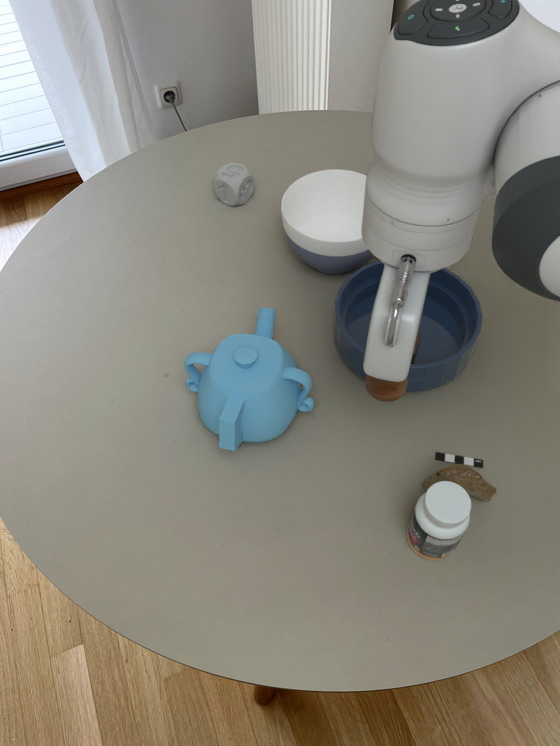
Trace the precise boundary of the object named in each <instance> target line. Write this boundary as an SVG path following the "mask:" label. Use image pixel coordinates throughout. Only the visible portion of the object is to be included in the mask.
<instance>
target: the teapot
mask: <svg viewBox="0 0 560 746" xmlns="http://www.w3.org/2000/svg"><path fill="white" fill-rule="evenodd" d="M276 314H277V310H276V309H272V308H269V307H259V308H258V313H257V317H256V323H255V328H254V332H253V333H254V334H253V333H252V334H251V333H234V334H231V335H228V336H226V337H225V338H224V339H223V340H222V341H221V342H219V344H218V345H217V347H216V348H215V349H214V351H213V352H212V353H209V352H206V351H205V352H204V351H194V352H191V353H189V354H188V355H187V356H186V358H185V360H184V363H183V364H184V365H183V366H184V370H185V372H186V374H187V376H188V377H187V378H186V380H185V387H186V388H187V389H188V390H189V391H191V392H194V393H197V409H198V413H199V418H200V420H201V422H202V423H203V425H204V426H205V427H206V428H207V430H209V431H210V432H211V433H213V434H216V435H217V436H218V438H219V439H218V441H219V442H218V443H219V444H218V445H219V446H218V447H219V448H220V449H223V450H228V451H232V452H235V451H236V450H237V449H239V447H240V445H241V444H242V443H243V442H245V443H246V442H247V443H264V442H269V441H271V440H274V439H276V438H278V437H279V436H281V435H282V434H283V433H284V432H285V431H287V429H288V428H289V426H290V425H291V424H292V422H293V420H294V418H295V417H296V415H297V412H298V411H300V412H303V413H309V412H311V411H312V410H313V409H314V407H315V400H314V398H312V397H310V396H308V395H309V394H310V392H311V389H312V386H313V380H312V377H311V375H309V373H308V372H306V371H304V370H303V369H301V368H298V366H297V365H296V362H295V360H294V358H293V357H292V355H291V354H290V353H289V352H288V350H287V349H286V348H284V346H282V344H280V343H279V342H278V341H276V340H274V339H273V336H274V328H275V320H276V316H277V315H276ZM195 365H202V366H203V365H204V366H203V369H202V372H200V371H199V370H198V369H197V367H196V366H195ZM301 385H302V386H303V388H302V387H301Z"/></svg>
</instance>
